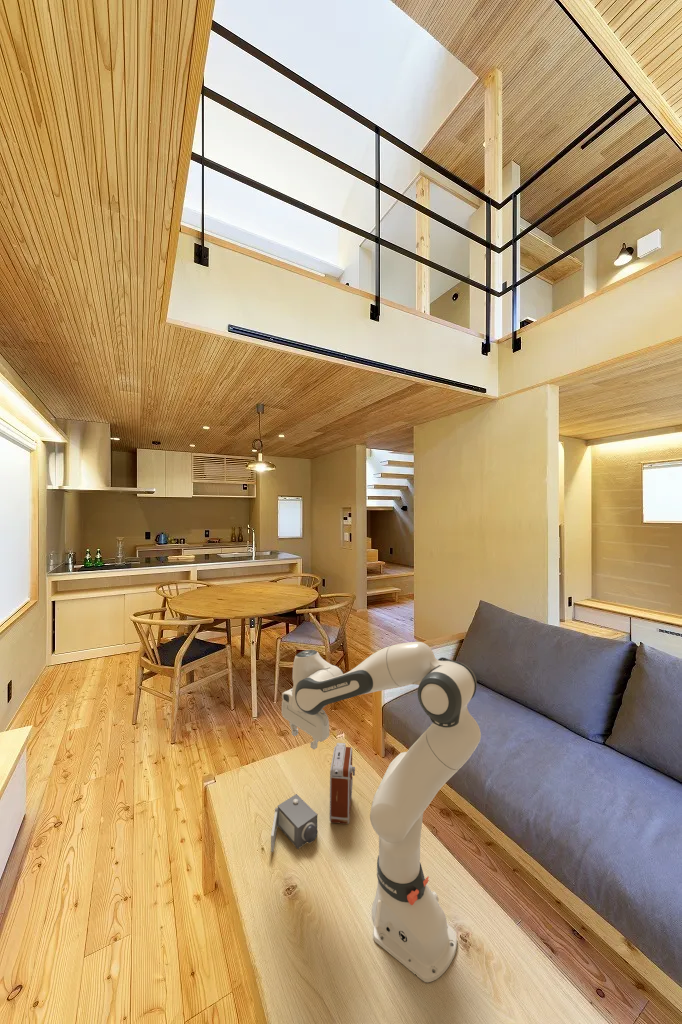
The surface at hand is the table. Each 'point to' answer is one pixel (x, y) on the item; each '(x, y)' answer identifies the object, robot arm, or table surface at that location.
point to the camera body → (297, 821)
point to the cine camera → (341, 784)
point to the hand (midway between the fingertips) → (304, 741)
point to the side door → (274, 829)
